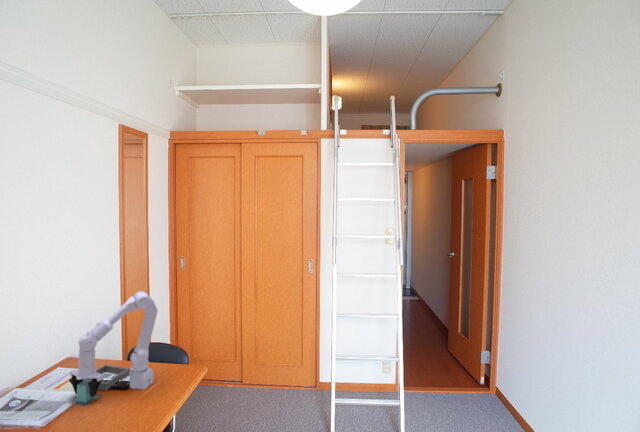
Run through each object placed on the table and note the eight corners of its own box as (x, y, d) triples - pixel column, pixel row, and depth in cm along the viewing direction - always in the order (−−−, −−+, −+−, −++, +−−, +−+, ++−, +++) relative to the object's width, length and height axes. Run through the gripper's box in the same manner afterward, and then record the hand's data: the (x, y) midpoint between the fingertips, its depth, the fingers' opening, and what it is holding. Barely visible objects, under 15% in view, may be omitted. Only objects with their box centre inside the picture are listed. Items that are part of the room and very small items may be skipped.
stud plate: (101, 397, 138) (102, 387, 138) (85, 408, 130) (85, 398, 130) (86, 394, 139) (86, 384, 139) (68, 405, 131) (69, 395, 131)
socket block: (94, 396, 136) (95, 380, 136) (85, 402, 132) (86, 386, 132) (86, 395, 137) (86, 379, 137) (76, 401, 133) (77, 384, 133)
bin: (129, 376, 155) (129, 368, 155) (105, 392, 141) (105, 384, 141) (105, 372, 157) (105, 364, 157) (79, 388, 143) (79, 379, 143)
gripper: (63, 365, 131) (62, 397, 132) (93, 370, 129) (92, 402, 129) (79, 357, 138) (78, 387, 139) (107, 362, 136) (106, 392, 136)
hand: (85, 394), depth 135 cm, fingers open, 7 cm apart
